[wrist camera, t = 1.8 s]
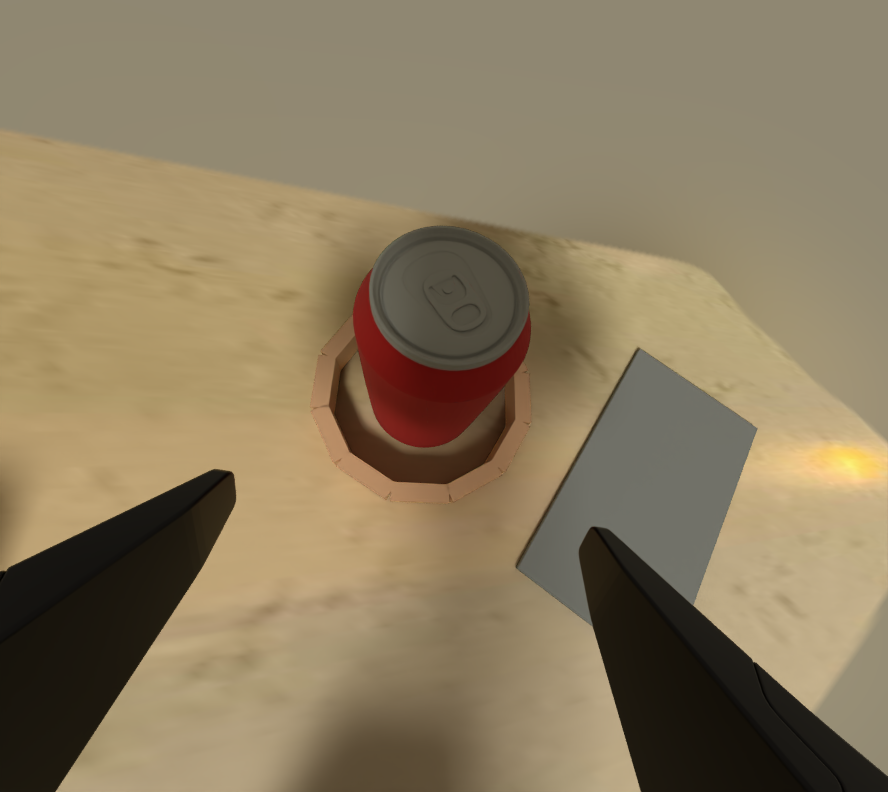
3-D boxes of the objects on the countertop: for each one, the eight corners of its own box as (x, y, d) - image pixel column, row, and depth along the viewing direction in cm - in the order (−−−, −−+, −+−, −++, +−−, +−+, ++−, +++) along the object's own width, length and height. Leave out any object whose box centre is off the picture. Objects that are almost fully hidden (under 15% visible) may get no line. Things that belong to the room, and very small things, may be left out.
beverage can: (437, 335, 24) (474, 184, 13) (493, 414, 23) (589, 324, 12) (351, 382, 22) (306, 254, 11) (407, 471, 21) (421, 429, 10)
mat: (661, 678, 19) (665, 681, 19) (515, 567, 20) (517, 568, 20) (753, 429, 25) (757, 428, 25) (637, 350, 26) (640, 348, 26)
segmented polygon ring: (555, 443, 23) (569, 437, 21) (372, 544, 20) (370, 548, 18) (462, 287, 26) (467, 270, 24) (288, 353, 22) (279, 339, 20)
